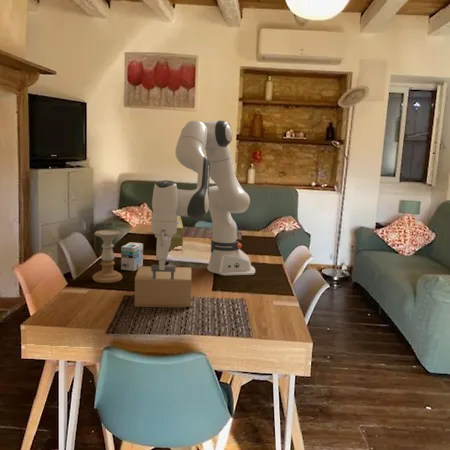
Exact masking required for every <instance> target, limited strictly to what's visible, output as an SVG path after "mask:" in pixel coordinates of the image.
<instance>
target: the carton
mask: <svg viewBox="0 0 450 450" xmlns="http://www.w3.org/2000/svg"><path fill="white" fill-rule="evenodd" d="M191 297H192V280H191V281H163V280H135V279H134V307H141V308H142V307H146V308H147V307H149V308H152V307H153V308H186V307H190V308H191V302H192V301H191V299H192V298H191Z"/></svg>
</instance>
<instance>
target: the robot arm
mask: <svg viewBox="0 0 450 450" xmlns="http://www.w3.org/2000/svg"><path fill="white" fill-rule="evenodd" d="M232 140H233V129H232V126H231V124H230V123H229V122H228V121H226V120H218V121H217V120H207V121H203V122H202V121H200V120H195V119H194V120H190V121H188V122H187V123H186V124H185V126H184V127H183V128H182V130H181V132H180V135H179V137H178V139H177V143H176V147H175V157H176V159H177V161H178V163H180V165H182V166H183V167H185V168H186V169H188V170H191V171H193V172H195V173H196V174H197V179H196V180H197V181H196V188H195V189H192V190H191V189H182V188H181V189H179V188H178V186H177V183H176V182H175V181H173V180H168V179H167V180H159V181H157V182H156V183H154V187H153V193H152V200H151V208H152V216H151V227H150V228H151V230H150V231H151V233H152V234H154V237H155V238H156V252H155V255H156V257H155V258H156V260H157V261H158V265H159V269H160V270H164V269H165V265H166V263H167V259H168V255H169V251H170V250H169V247H170V243H171V238H173V234H176V233H177V216H180V217H187V218H191V219H197V220H200V219H201V218H203V217H205V216H206V215H207V214H208V213H209V214H210V218H211V224H212V233H211V234H212V235H211V236H212V237H211V241H210V257H209V262H208V265H207V268H206V269H207V271H209V272H210V273H214V274H217V275H220V276H252V275H255V273H256V268H255V267H254V266H253V265H252V263H251V259H250V257H249V256H248V255H247V253H245V252H244V251H243V250H241V248H242V246H243V245H242V244H241V242H239V241H238V240H237V229H238V227H237V223H236V221H235V220H234V219H233V217H232V214H241V213H246V211H248V209H249V207H250V204H251V197H250V195H249V194H248V193H247V192H246V191H245V190H244V188H243V187H242V186H241V184H240V182H239V181H238V178H237V175H236V174H235V168H234V164H233V159H232V152H231V148H230V144H231V142H232ZM210 179H211V180H212V181H213V182H214V183H215V185H212V186H210Z"/></svg>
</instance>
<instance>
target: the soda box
mask: <svg viewBox="0 0 450 450" xmlns="http://www.w3.org/2000/svg"><path fill="white" fill-rule="evenodd" d="M176 216H177V215H176ZM183 238H184V225H183V221H182V216H177V233H176V234H173V238H171V243H170V247H169V251H173V250H172V249H174V248H175V247H178V246H182V247H183V243H184V242H183V241H184V240H183Z"/></svg>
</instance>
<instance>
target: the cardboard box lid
mask: <svg viewBox="0 0 450 450" xmlns="http://www.w3.org/2000/svg"><path fill="white" fill-rule="evenodd" d="M136 271H137V272H136V274H135V277H134V281H135V280H163V281H191V282H192V267H180V266H179V267H178V266H177V267H176V264H175V265H174V264H165V269H164V270H160V269H159V264H151V266H144V265H143V266H139V268H138V269H137V270H136Z"/></svg>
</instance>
